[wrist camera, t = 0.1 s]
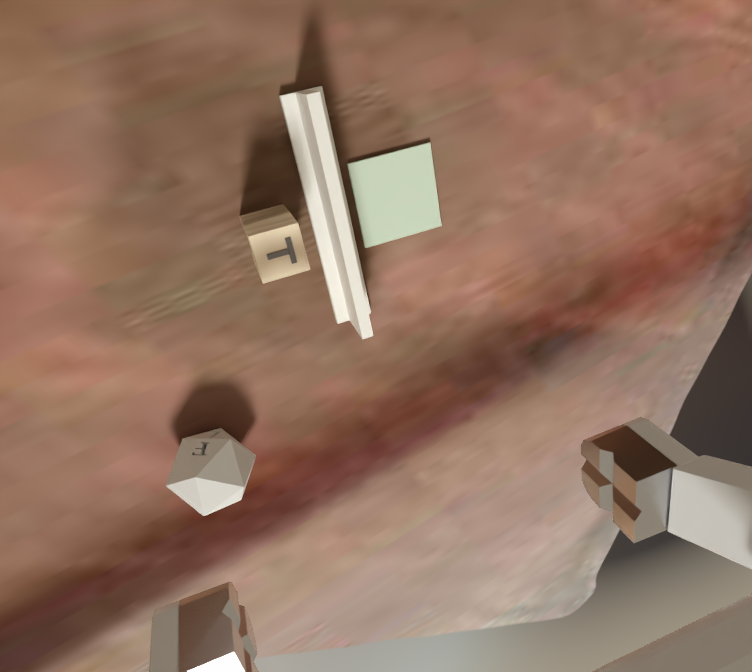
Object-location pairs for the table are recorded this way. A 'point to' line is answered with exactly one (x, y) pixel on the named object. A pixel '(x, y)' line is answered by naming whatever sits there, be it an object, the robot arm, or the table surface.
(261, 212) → the birch block
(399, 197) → the sage mat
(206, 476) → the die
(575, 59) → the table surface
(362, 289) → the white shelf
